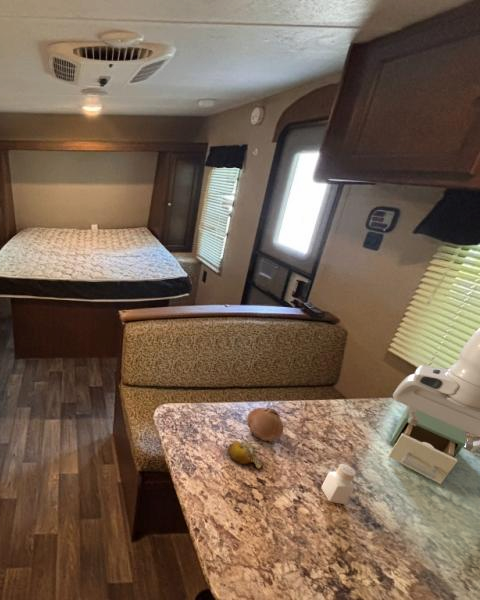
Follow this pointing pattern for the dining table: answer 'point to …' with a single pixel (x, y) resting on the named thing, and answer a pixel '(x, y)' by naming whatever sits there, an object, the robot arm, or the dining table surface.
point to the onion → (265, 423)
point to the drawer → (424, 452)
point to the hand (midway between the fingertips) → (438, 435)
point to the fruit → (243, 454)
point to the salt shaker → (339, 484)
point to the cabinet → (432, 429)
